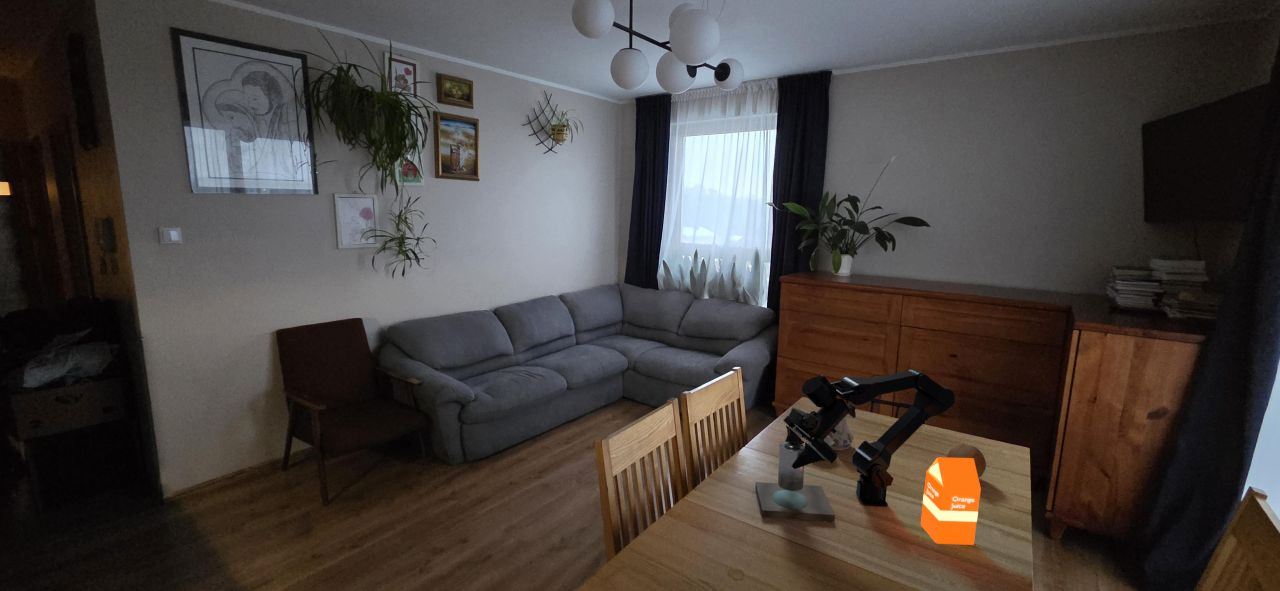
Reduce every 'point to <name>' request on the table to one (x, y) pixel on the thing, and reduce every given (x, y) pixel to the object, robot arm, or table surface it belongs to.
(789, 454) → the silver metal cylinder
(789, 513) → the walnut board
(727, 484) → the table surface
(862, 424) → the table surface
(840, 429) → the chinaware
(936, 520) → the orange juice
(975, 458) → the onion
